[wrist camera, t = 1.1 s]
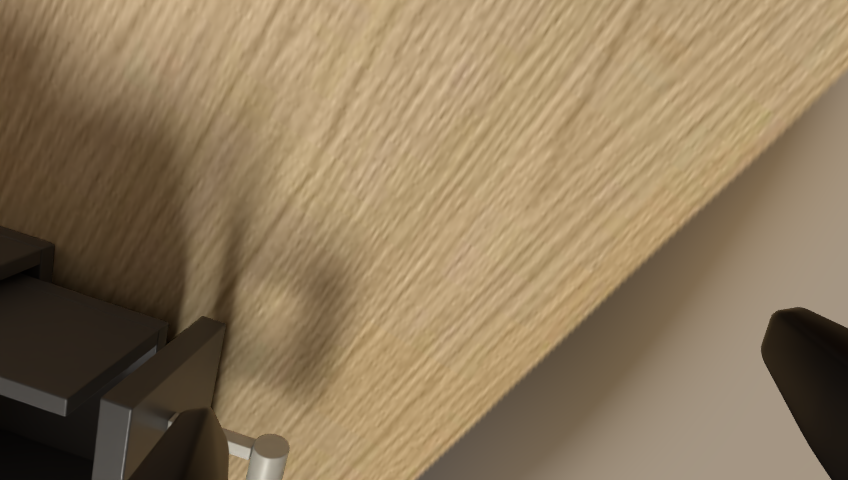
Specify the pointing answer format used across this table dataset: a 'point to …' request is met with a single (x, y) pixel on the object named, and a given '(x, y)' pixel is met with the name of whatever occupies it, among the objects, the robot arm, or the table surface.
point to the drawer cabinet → (25, 256)
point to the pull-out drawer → (102, 386)
